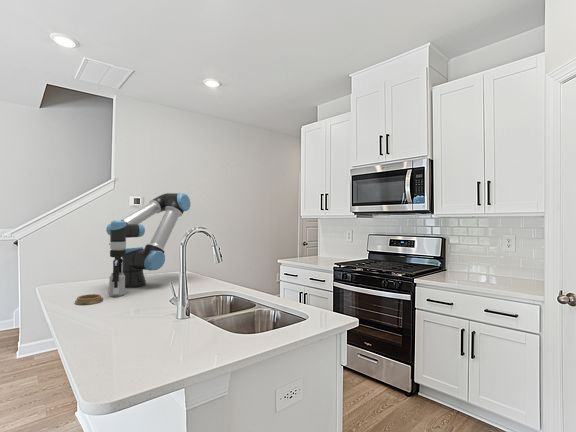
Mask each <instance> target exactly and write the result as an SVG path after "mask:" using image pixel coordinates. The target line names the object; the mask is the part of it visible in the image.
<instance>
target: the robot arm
mask: <svg viewBox="0 0 576 432" xmlns="http://www.w3.org/2000/svg"><path fill="white" fill-rule="evenodd" d="M190 207H191V199H190V197H189V196H188V194H186V193H181V192H177V193H175V192H174V193H173V192H172V193H171V192H169V193H168V192H167V193H163V194H160V195H158V196H156V197H155V198H153V199H151V200H150V201H149V202H148V204H146V205H144V206H143V207H140V208H139V209H137V210H136V211H134V212H132V213H131V214H129V215H128V216H125V217H124V218H123V219H120V220H112V221H111V222H110V223H109V224H107V226H106V228H105V229H106V230H105V232H106V233H107V235H109V238H110V239H109V242H110V243H108V245H109V249H110V251H109V257H110V258H114V259H113V262H112V273H113V280H112V282H113V294H119V272H122V273H124V275H125V289H126V288H128V289H131V288H139V287H143V286H144V287H145V286H146V284H147V280H146V277H145V274H144V270H145V271H157V270H159V269H161V268H162V267H164V264H165V263H166V255H165V250H164V249H165V246H166V244H167V243H168V240H169V238H170V236H171V234H172V232H173V229H174V228H175V225H176V223H177V221H178V219H179V218H180V217H182V216H183V214H184V212H187V211H189V210H190ZM162 212H165V213H164V214H163V216H162V218H161V220H160V222H159V224H158V227H157V228H156V231H155V232H154V234H153V236H152V237H151V240H150V242H149V243H146V244H145V247H143V246H140V247H139V246H138V247H130V248H129V247H127V238H139V237H140V238H142V237H143V236H144V235H145V232H146V229H145V226H144V225H143V224H141V223H143V222H144V221H146V220H147V219H149V218H151V217H153V215H156V214H160V213H162ZM115 278H117V279H115Z"/></svg>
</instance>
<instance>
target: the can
mask: <svg viewBox="0 0 576 432" xmlns="http://www.w3.org/2000/svg"><path fill="white" fill-rule="evenodd" d="M115 279H117V278H115ZM112 280H113V272H112V273H111V274H110V276H109V283H108V284H109V287H108V289H109V291H108V292H109V293H108V294H109V295H110V297H115V298H116V297H122V296H124V295H125V294H126V293H125V292H126V288H125V275H124V273H122V272H119V294H113V282H112Z"/></svg>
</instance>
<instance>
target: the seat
mask: <svg viewBox="0 0 576 432" xmlns="http://www.w3.org/2000/svg"><path fill="white" fill-rule="evenodd" d="M103 301H104V298H103V297H102V295H101V294H98V293H97V294H96V293H95V294H94V293H93V294H91V293H89V294H84V295H79V296H77V297H76V299H75V301H74V304H75V305H76V306H89V305H90V306H91V305H97V304H100V303H103Z"/></svg>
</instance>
